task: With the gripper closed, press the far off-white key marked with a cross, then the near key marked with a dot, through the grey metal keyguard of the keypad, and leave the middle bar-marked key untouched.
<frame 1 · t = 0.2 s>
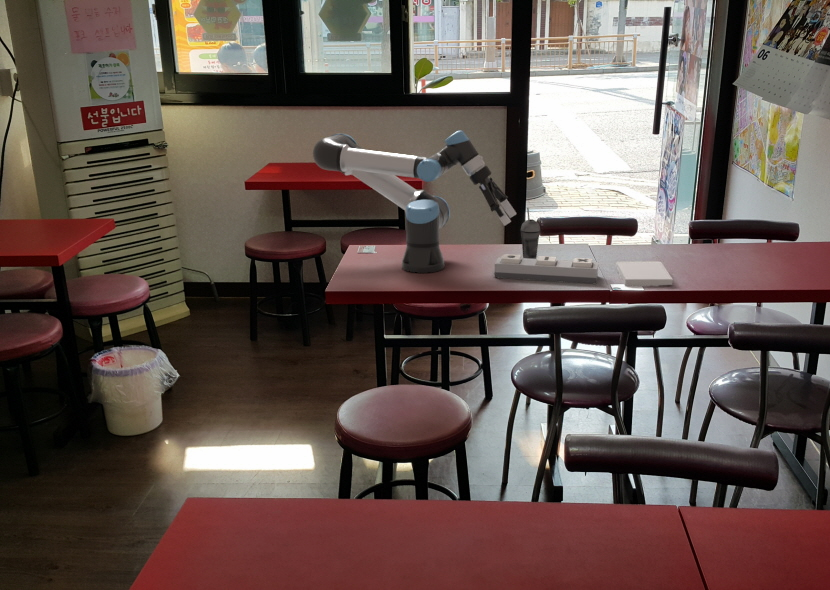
hand: (510, 219, 290), 16 cm above the table, tool tilted 35°, fingers open, 13 cm apart
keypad: (546, 277, 276), on the table
beverage cup: (529, 262, 295), on the table
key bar: (546, 262, 274), point 5 cm above the table, slide at 0.0 cm
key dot: (511, 260, 277), point 5 cm above the table, slide at 0.0 cm
key cross: (582, 263, 271), point 5 cm above the table, slide at 0.0 cm
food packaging: (642, 279, 274), on the table
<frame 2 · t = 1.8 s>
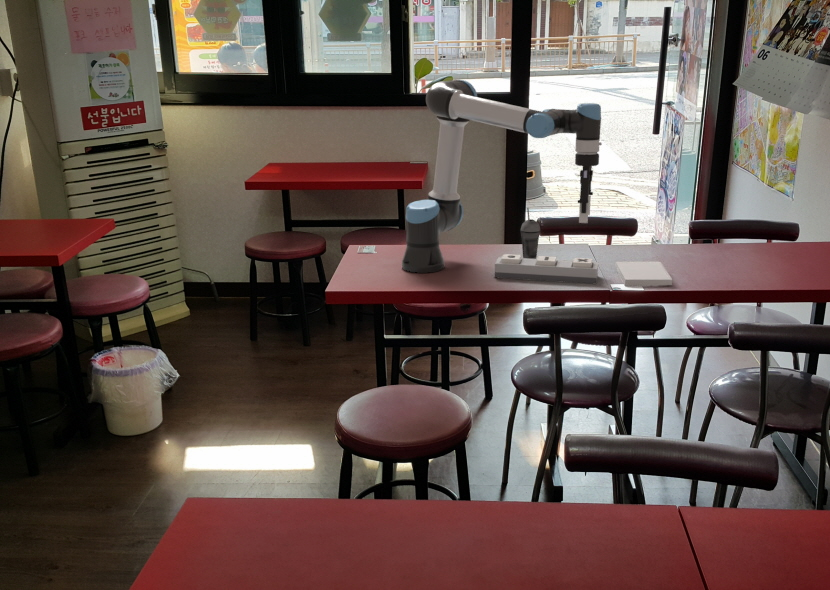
hand: (584, 218, 267), 21 cm above the table, tool pointing down, fingers open, 12 cm apart
nothing on the table moved.
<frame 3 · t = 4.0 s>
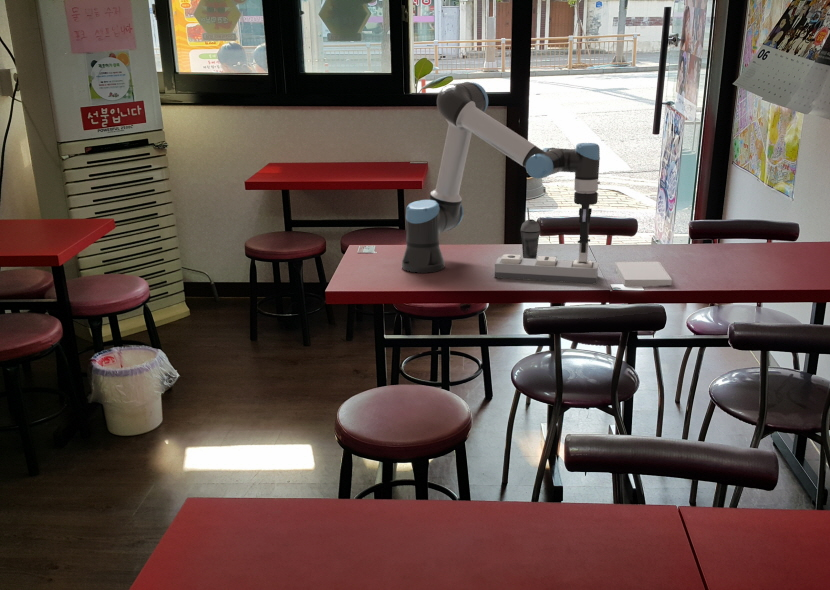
hand: (583, 261, 271), 6 cm above the table, tool pointing down, fingers closed
key cross: (582, 265, 271), point 5 cm above the table, slide at 0.6 cm, touching gripper
everything else where it was.
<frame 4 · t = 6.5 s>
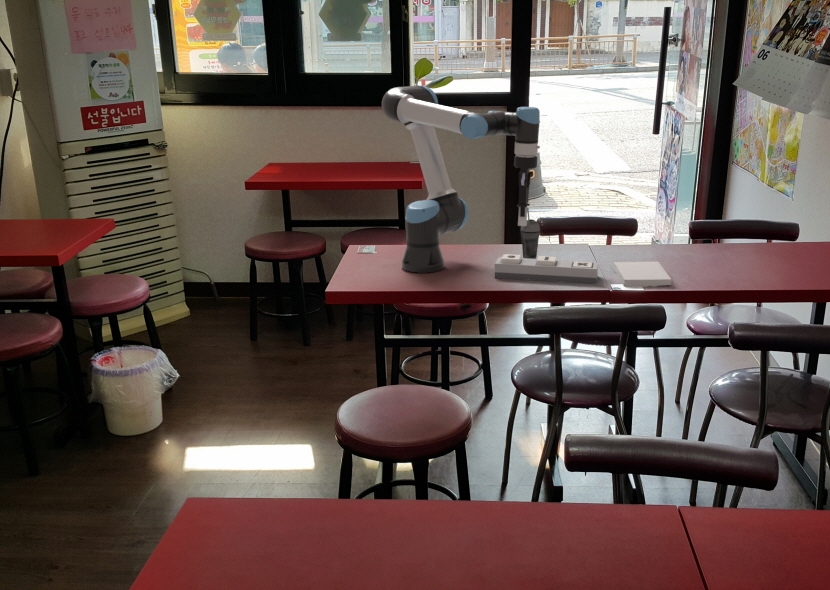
hand: (522, 225, 273), 18 cm above the table, tool pointing down, fingers closed
key cross: (582, 267, 272), point 4 cm above the table, slide at 1.3 cm
everything else where it was.
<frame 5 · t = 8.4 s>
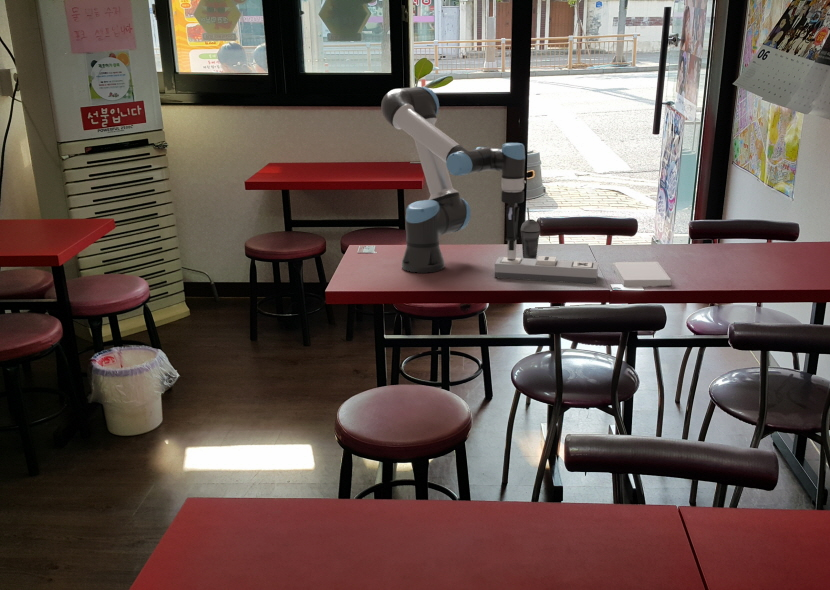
hand: (511, 258, 277), 6 cm above the table, tool pointing down, fingers closed
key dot: (511, 262, 278), point 4 cm above the table, slide at 1.0 cm, touching gripper
everything else where it was.
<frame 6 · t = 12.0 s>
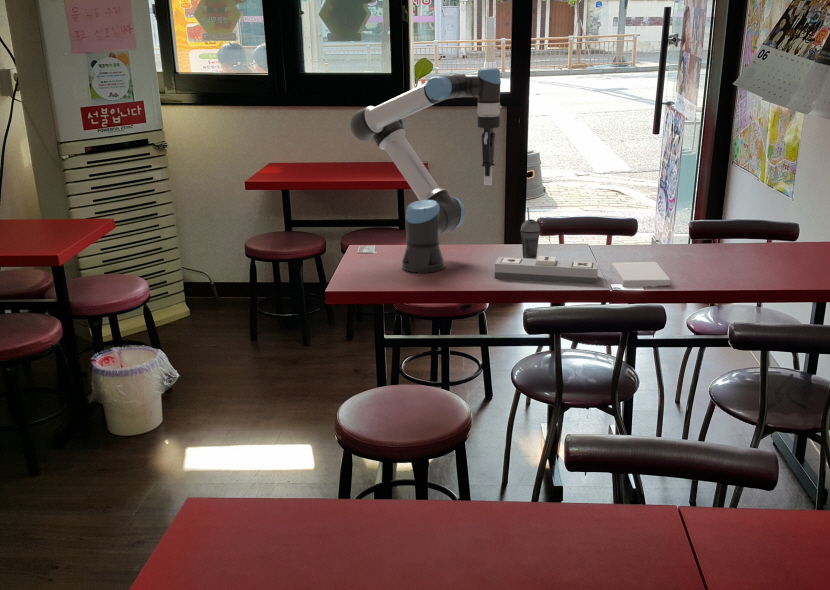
hand: (487, 184, 281), 29 cm above the table, tool pointing down, fingers closed
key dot: (511, 263, 278), point 4 cm above the table, slide at 1.4 cm
at the end: key cross slide at 1.3 cm; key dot slide at 1.4 cm; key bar slide at 0.0 cm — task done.
